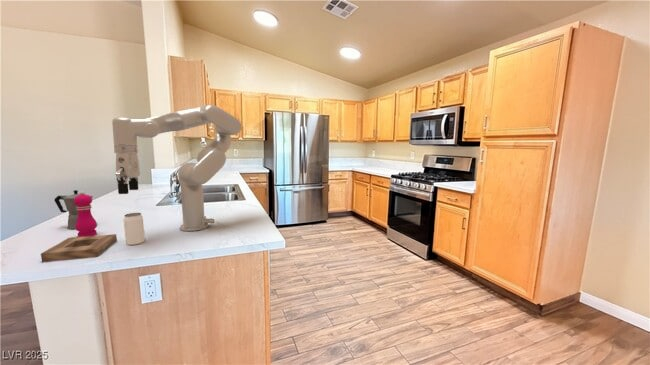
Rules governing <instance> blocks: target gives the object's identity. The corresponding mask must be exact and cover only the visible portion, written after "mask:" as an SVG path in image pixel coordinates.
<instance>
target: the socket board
mask: <svg viewBox="0 0 650 365" xmlns="http://www.w3.org/2000/svg"><path fill="white" fill-rule="evenodd" d="M116 242H118V238H117V233H116V234H101V235H95V236H86V237H78V236H73V237H67V238H66V239H64V240H62V241H60V242H59V243H57V244H56V245H54V246H51V247H50V248H48V249H47V250H45V251H43V252H41V253H40V257H41V258H40V259H41V262H42V263H44V262H54V261H55V262H56V261H66V260H76V259H87V258H98V257H99V256H101V255H102V254H104V252H105V251H107V250H108V249H109V248H110V247H112V246H113V245H114V244H115V243H116Z"/></svg>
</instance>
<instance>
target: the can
mask: <svg viewBox="0 0 650 365" xmlns="http://www.w3.org/2000/svg"><path fill="white" fill-rule="evenodd" d="M123 227H124V228H123V229H124V239H125V244H126V245H128V246H135V245H140V244H143V243H144V242H145V241H146V238H145V237H146V236H145V225H144V218H143V215H142V213H141V212H130V213H125V214H124V217H123Z"/></svg>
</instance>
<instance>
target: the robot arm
mask: <svg viewBox="0 0 650 365" xmlns="http://www.w3.org/2000/svg"><path fill="white" fill-rule="evenodd" d="M111 122H112V123H111V124H112V138H113V139H112V140H113V150H114V151H113V152H114V154H115V171H116V173H115V177H116V184H117V191H118V195H128V194H129V191H138V190H139V176H140V174H141V173H140V172H141V171H140V164H139V158H138V153H139V151H138V137H139V138H146V139H147V138H150V139H151V138H155V137H157V136H158V135H160V134H165V133H170V132H180V131H185V130H189V129H192V128H193V129H194V128H197V127H201V126H205V125H209V124H213V125H214V133H215V135H214V138H213V139H212V140H211V141H210V142H209V143H208V144H207V145H206V146H205V147H203V148H202V149H201V150H200V151H199V152H198V153H197V156H196V161H197V163H195V162H186V163H183V164H182V165H180V166H179V168H178V171H177V177H178V182H179V186H180V195H181V211H182V213H181V214H182V224H180V226H179V230H180V231H183V232H197V231H200V230H204V229H206V228H208V227H209V224H214V223H215V218H212V217H211V218H207V216H206V215H205V204H204V203H205V201H204V187H203V185H205V184H206V183H207V182H209V181H210V180H212V178H213V177H214V176H215V175H216V174H217V173H218V172H219V171H220V170H221V169H222V168H223V167H224V165H225V163H226V162H227V157H226V154H225V153H227V152H228V150H229V149H230V147H231V144H232V143H231V142H232V136H235V135H236V136H237V135H238V134H239V133H240V132H241V131H242V122H241V121H240V120H239V119H238V118H237V117H235V116H234V115H232V114H230V113H229V112H227V111H225V110H224V109H222V108H220V107H219V106H217V105H214V104H207V105H201V106H195V107H190V108H187V109H182V110H177V111H172V112H169V113H166V114H162V115H158V116H153V117H148V118H143V119H142V118H141V119H140V118H139V119H137V118H136V119H134V118H131V117H129V118H128V117H114V118H113V119H112V121H111Z"/></svg>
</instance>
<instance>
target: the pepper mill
mask: <svg viewBox="0 0 650 365" xmlns="http://www.w3.org/2000/svg"><path fill="white" fill-rule="evenodd" d="M78 194H80V195H78V196H76V197H75V198H74V204H75V205H77V207H76V208H77V209H76V210H78V219H77V221H76V224H75V229H74V230H76V231H77V237H86V236H97V235H98V234H97V230H96V229H97V227H98V222H97V221H96V219H95V218H94V217H93V214H92V210H91V209H92V203H93V198H91V196H92V195H90V194H86V193H85V191H83V190H82V191H79V193H78Z"/></svg>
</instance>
